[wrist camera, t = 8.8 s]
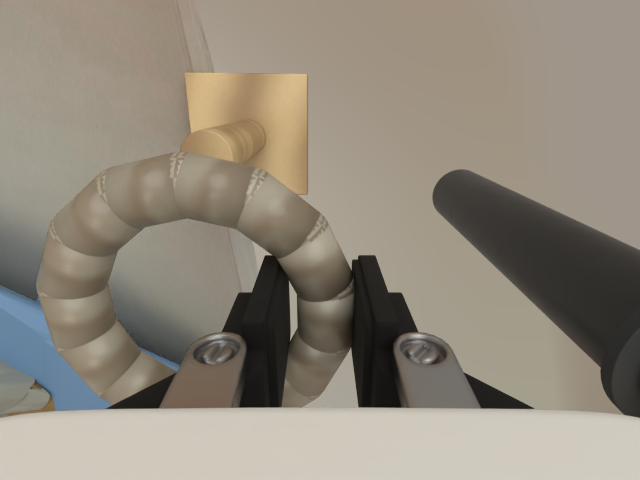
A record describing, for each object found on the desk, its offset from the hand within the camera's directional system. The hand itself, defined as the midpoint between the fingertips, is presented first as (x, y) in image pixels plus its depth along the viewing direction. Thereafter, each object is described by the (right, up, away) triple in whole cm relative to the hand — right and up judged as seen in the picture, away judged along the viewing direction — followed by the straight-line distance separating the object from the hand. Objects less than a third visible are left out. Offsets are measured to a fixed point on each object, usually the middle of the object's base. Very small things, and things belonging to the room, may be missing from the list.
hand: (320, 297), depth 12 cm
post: (-6, +10, +17) cm, 21 cm away
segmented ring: (-4, 0, -1) cm, 4 cm away
